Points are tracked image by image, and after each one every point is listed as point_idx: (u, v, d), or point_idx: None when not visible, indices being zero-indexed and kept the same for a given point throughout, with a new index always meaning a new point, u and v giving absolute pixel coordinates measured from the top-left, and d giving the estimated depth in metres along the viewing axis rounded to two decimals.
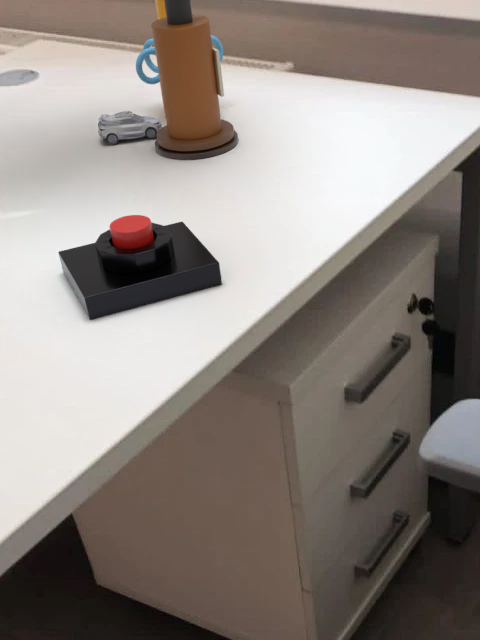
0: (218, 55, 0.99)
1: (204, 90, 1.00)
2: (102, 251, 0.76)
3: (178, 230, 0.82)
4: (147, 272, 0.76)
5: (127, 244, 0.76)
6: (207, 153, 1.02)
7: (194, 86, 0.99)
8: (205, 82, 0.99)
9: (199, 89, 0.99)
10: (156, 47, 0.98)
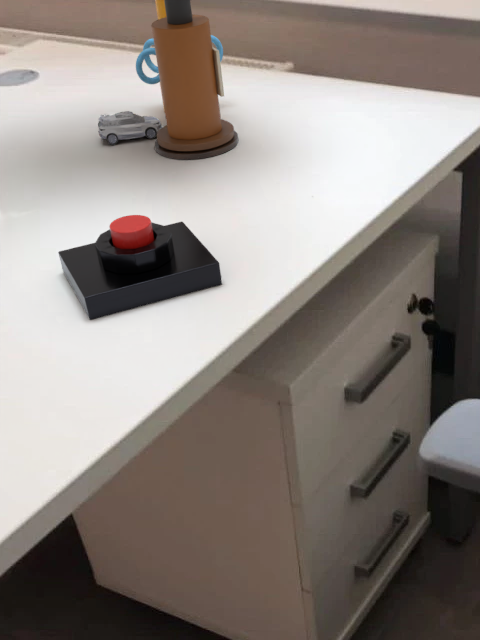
0: (218, 55, 0.99)
1: (204, 90, 1.00)
2: (102, 251, 0.76)
3: (178, 230, 0.82)
4: (147, 272, 0.76)
5: (127, 244, 0.76)
6: (207, 153, 1.02)
7: (194, 86, 0.99)
8: (205, 82, 0.99)
9: (199, 89, 0.99)
10: (156, 47, 0.98)
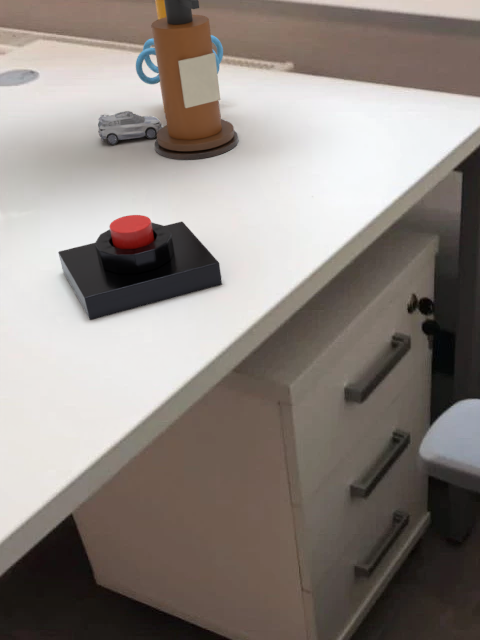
0: (179, 66, 0.97)
1: (167, 92, 1.00)
2: (102, 251, 0.76)
3: (178, 230, 0.82)
4: (147, 272, 0.76)
5: (127, 244, 0.76)
6: (207, 153, 1.02)
7: (161, 84, 1.01)
8: (168, 85, 0.99)
9: (163, 88, 1.00)
10: None
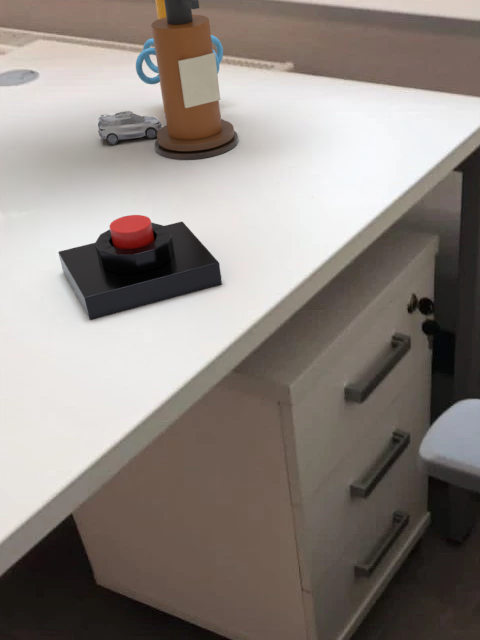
0: (179, 66, 0.97)
1: (167, 92, 1.00)
2: (102, 251, 0.76)
3: (178, 230, 0.82)
4: (147, 272, 0.76)
5: (127, 244, 0.76)
6: (207, 153, 1.02)
7: (161, 84, 1.01)
8: (167, 85, 0.99)
9: (163, 88, 1.00)
10: None
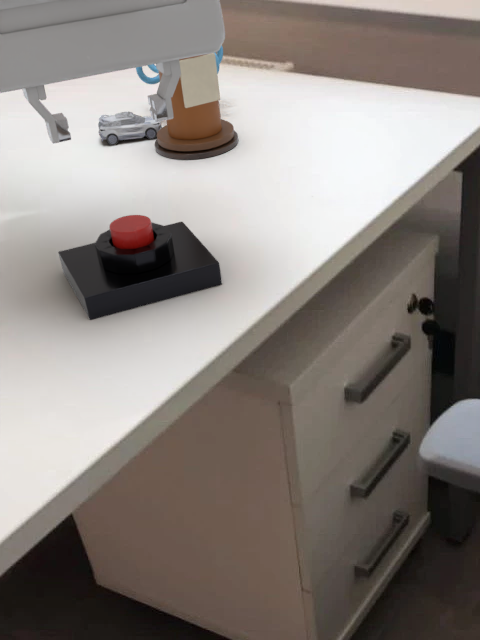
0: None
1: None
2: (102, 251, 0.76)
3: (178, 230, 0.82)
4: (147, 272, 0.76)
5: (127, 244, 0.76)
6: (207, 153, 1.02)
7: None
8: None
9: None
10: None
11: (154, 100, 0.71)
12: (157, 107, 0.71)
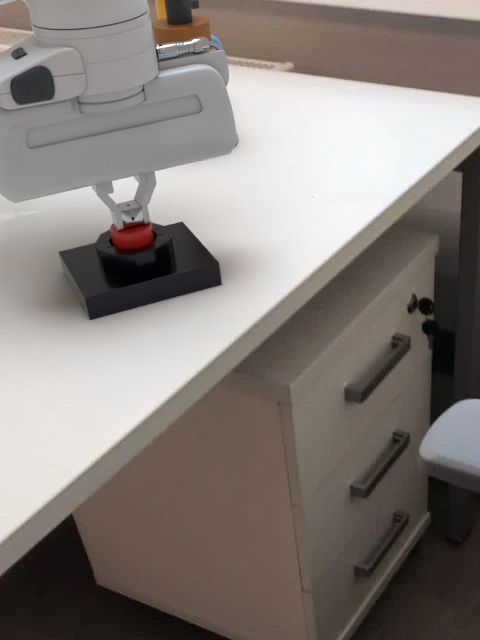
0: None
1: None
2: (102, 251, 0.76)
3: (178, 230, 0.82)
4: (147, 272, 0.76)
5: (127, 246, 0.76)
6: None
7: None
8: None
9: None
10: None
11: (131, 207, 0.75)
12: (134, 214, 0.75)
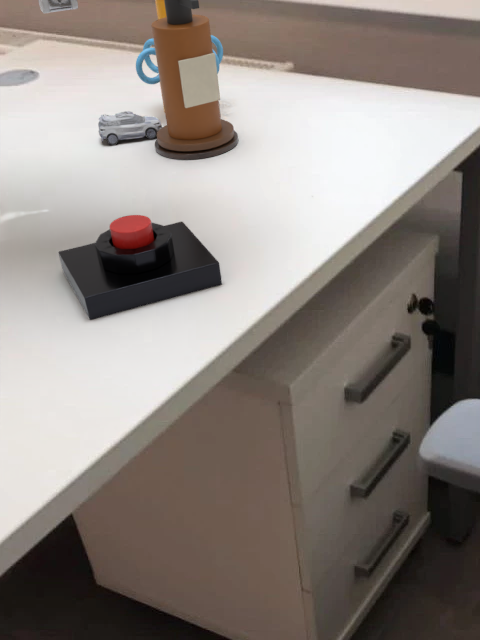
0: (179, 66, 0.97)
1: (167, 92, 1.00)
2: (102, 251, 0.76)
3: (178, 230, 0.82)
4: (147, 272, 0.76)
5: (127, 244, 0.76)
6: (207, 153, 1.02)
7: (161, 84, 1.01)
8: (167, 85, 0.99)
9: (163, 88, 1.00)
10: None
11: None
12: None
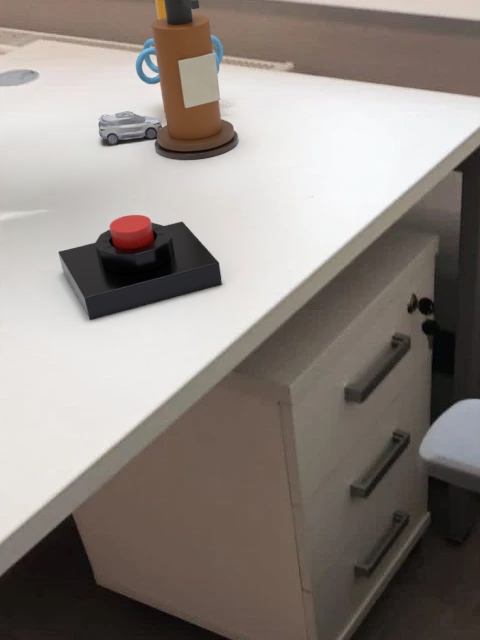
0: (179, 66, 0.97)
1: (167, 92, 1.00)
2: (102, 251, 0.76)
3: (178, 230, 0.82)
4: (147, 272, 0.76)
5: (127, 244, 0.76)
6: (207, 153, 1.02)
7: (161, 84, 1.01)
8: (167, 85, 0.99)
9: (163, 88, 1.00)
10: None
11: None
12: None
